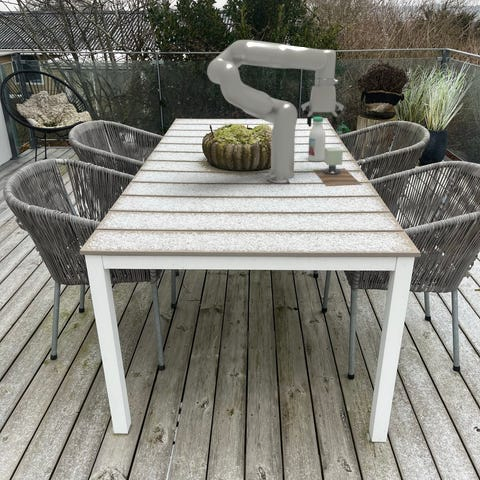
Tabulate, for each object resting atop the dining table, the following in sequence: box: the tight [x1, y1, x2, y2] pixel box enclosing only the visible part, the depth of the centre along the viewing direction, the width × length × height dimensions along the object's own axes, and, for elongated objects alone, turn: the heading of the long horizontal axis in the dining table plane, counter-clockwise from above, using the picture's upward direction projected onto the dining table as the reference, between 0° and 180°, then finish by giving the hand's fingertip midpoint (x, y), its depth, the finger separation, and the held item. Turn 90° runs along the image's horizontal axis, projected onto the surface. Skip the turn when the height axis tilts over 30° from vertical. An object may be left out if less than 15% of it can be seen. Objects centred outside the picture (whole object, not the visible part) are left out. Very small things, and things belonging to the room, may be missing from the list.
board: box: [312, 165, 362, 187], centre depth 191 cm, size 24×14×10 cm, turn 4°
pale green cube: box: [323, 146, 344, 166], centre depth 196 cm, size 6×6×6 cm
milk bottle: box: [308, 116, 326, 162], centre depth 221 cm, size 8×8×20 cm
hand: (321, 126), depth 194 cm, fingers open, 9 cm apart
